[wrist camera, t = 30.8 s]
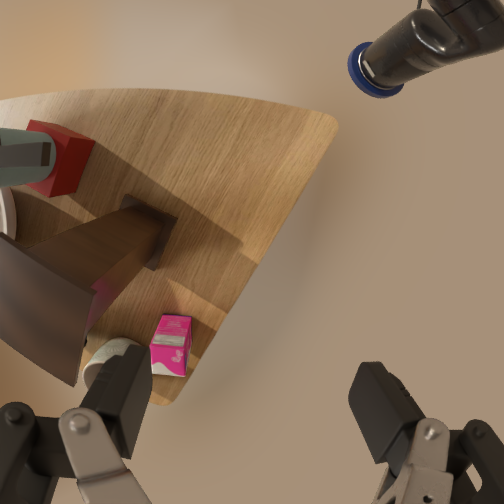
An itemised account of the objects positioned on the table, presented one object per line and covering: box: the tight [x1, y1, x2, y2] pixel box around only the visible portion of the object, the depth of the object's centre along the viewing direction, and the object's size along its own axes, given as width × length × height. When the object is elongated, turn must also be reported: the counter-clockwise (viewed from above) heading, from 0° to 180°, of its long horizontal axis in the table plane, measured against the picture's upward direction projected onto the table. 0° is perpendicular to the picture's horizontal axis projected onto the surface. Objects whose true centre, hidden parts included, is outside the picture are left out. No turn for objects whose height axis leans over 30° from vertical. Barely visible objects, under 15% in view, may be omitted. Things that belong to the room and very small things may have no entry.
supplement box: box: [150, 314, 192, 377], centre depth 48 cm, size 6×6×12 cm
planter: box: [82, 337, 141, 390], centre depth 50 cm, size 12×12×11 cm
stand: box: [0, 194, 178, 387], centre depth 33 cm, size 10×10×32 cm
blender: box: [0, 120, 95, 198], centre depth 33 cm, size 10×10×23 cm
